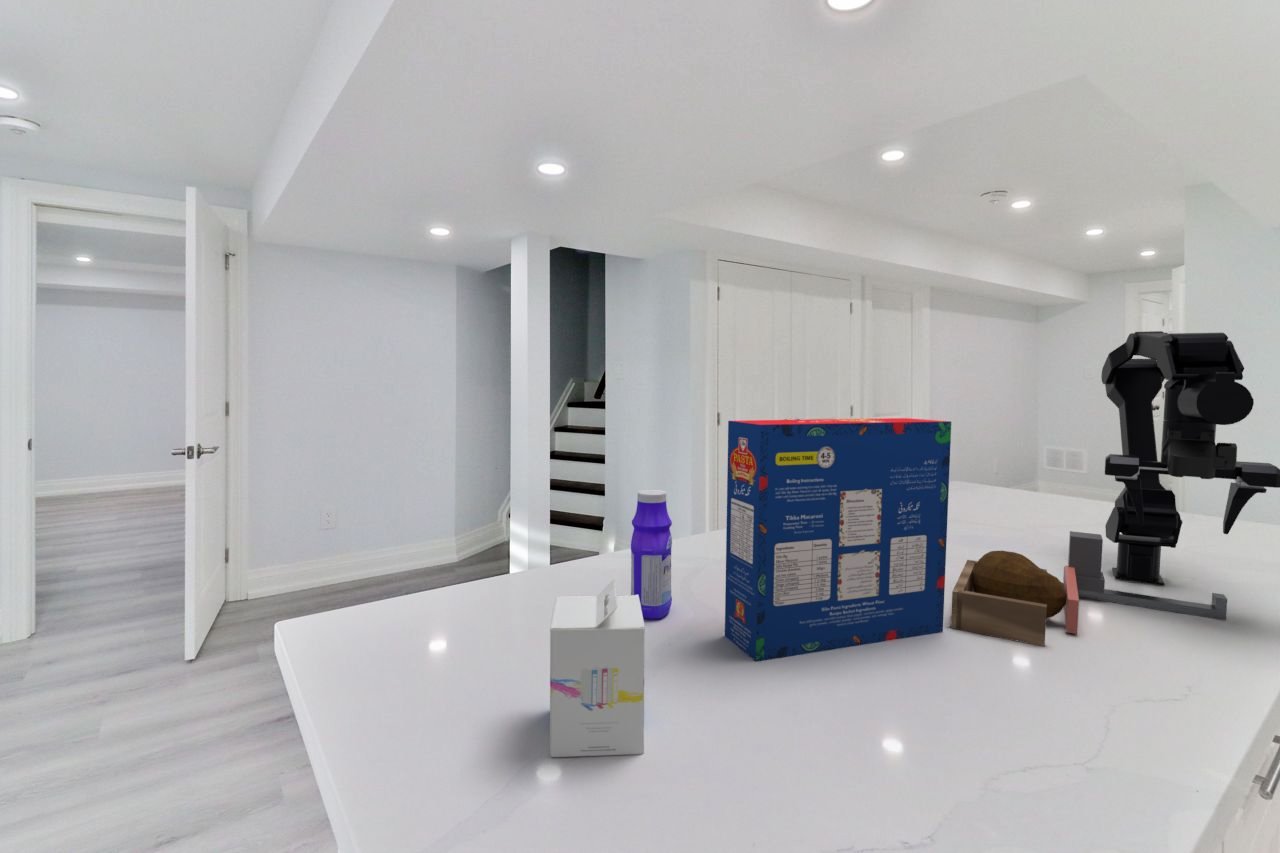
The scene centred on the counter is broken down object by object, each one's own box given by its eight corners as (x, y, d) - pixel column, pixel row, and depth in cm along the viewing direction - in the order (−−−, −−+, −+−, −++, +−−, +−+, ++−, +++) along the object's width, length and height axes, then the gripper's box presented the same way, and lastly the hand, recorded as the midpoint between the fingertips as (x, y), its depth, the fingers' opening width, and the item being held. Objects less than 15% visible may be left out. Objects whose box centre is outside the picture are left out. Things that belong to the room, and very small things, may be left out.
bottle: (666, 623, 85) (668, 496, 84) (626, 620, 86) (626, 494, 85) (674, 605, 92) (675, 487, 91) (636, 602, 93) (637, 486, 92)
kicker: (1062, 586, 101) (1066, 530, 100) (1101, 592, 98) (1104, 534, 98) (1065, 631, 82) (1069, 563, 82) (1113, 640, 79) (1117, 569, 79)
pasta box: (899, 611, 90) (906, 418, 88) (942, 632, 83) (951, 421, 81) (724, 636, 81) (728, 420, 79) (755, 662, 73) (760, 424, 72)
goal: (966, 590, 99) (967, 559, 99) (1045, 603, 94) (1047, 571, 93) (950, 627, 84) (952, 591, 84) (1044, 646, 78) (1046, 607, 78)
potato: (1017, 631, 83) (1021, 566, 83) (954, 601, 95) (957, 544, 94) (1070, 626, 85) (1074, 563, 84) (1002, 597, 97) (1005, 541, 96)
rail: (1037, 586, 102) (1037, 568, 102) (1221, 614, 90) (1223, 594, 89) (1036, 590, 100) (1037, 571, 100) (1225, 620, 88) (1227, 599, 87)
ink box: (554, 708, 63) (553, 577, 62) (637, 705, 63) (638, 575, 62) (548, 760, 54) (548, 608, 53) (645, 755, 55) (646, 606, 54)
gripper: (1108, 420, 88) (1101, 529, 89) (1296, 427, 77) (1286, 551, 78) (1107, 418, 97) (1102, 517, 98) (1276, 423, 86) (1268, 534, 87)
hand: (1182, 529), depth 90 cm, fingers open, 9 cm apart
